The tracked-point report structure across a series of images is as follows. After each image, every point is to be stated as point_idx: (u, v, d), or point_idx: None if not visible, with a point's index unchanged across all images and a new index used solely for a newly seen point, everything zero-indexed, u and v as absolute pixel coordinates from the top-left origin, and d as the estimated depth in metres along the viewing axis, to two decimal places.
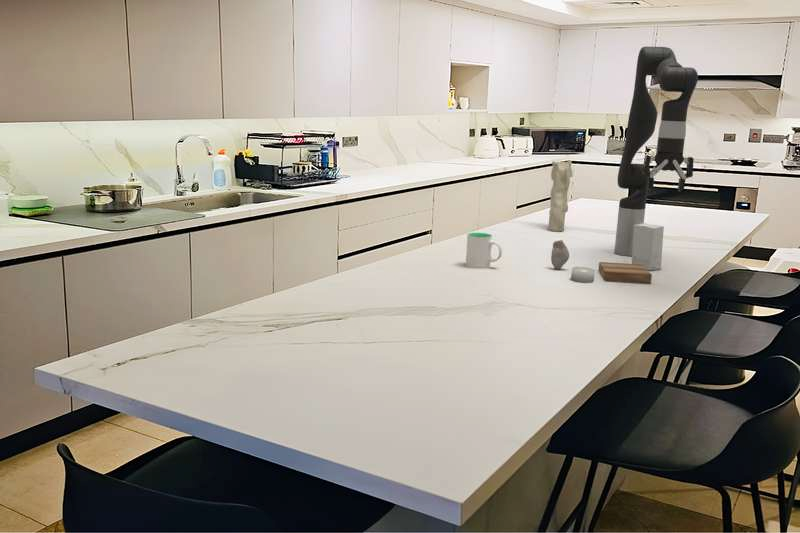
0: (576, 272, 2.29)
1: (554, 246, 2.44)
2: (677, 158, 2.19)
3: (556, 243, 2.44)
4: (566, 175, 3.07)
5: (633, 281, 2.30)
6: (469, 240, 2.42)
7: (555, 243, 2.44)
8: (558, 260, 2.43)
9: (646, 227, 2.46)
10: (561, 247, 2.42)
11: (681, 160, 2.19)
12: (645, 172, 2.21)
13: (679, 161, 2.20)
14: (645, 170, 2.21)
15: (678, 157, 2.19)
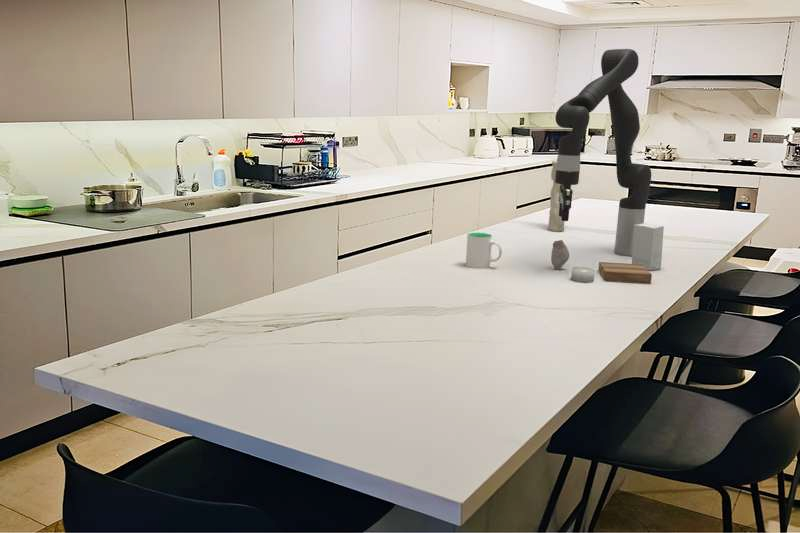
0: (576, 272, 2.29)
1: (554, 246, 2.44)
2: None
3: (556, 243, 2.44)
4: None
5: (633, 281, 2.30)
6: (469, 240, 2.42)
7: (555, 243, 2.44)
8: (558, 260, 2.43)
9: (646, 227, 2.46)
10: (561, 247, 2.42)
11: None
12: None
13: None
14: None
15: None
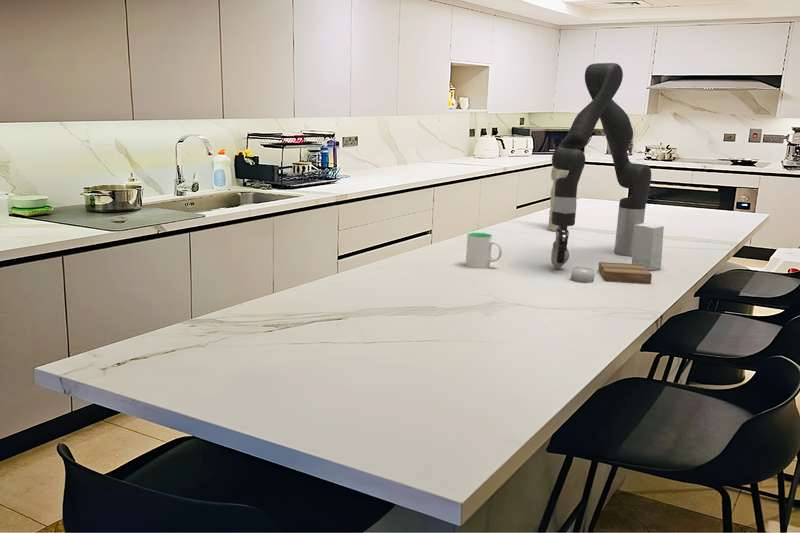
0: (576, 272, 2.29)
1: (554, 246, 2.44)
2: None
3: (556, 243, 2.43)
4: (566, 175, 3.07)
5: (633, 281, 2.30)
6: (469, 240, 2.42)
7: (555, 243, 2.44)
8: None
9: (646, 227, 2.46)
10: None
11: None
12: None
13: None
14: (566, 247, 2.38)
15: None
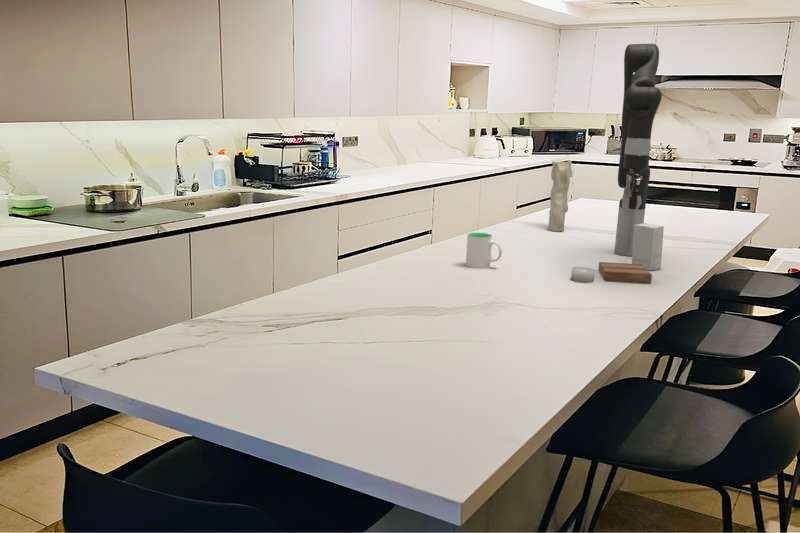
0: (576, 272, 2.29)
1: (625, 192, 2.32)
2: None
3: (628, 188, 2.31)
4: (566, 175, 3.07)
5: (633, 281, 2.30)
6: (469, 240, 2.42)
7: (626, 188, 2.31)
8: None
9: (646, 227, 2.46)
10: None
11: None
12: (639, 193, 2.26)
13: None
14: None
15: None
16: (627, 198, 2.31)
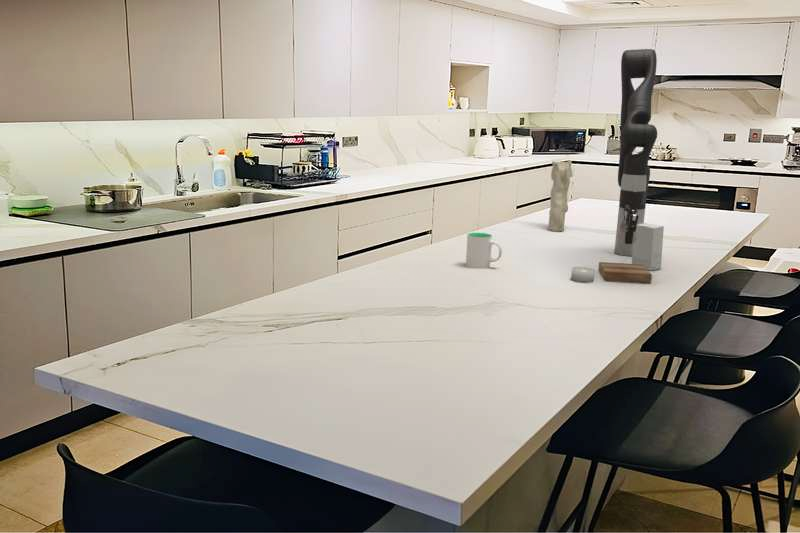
0: (576, 272, 2.29)
1: (621, 226, 2.34)
2: None
3: (624, 223, 2.34)
4: (566, 175, 3.07)
5: (633, 281, 2.30)
6: (469, 240, 2.42)
7: (623, 223, 2.34)
8: None
9: (646, 227, 2.46)
10: None
11: None
12: (635, 228, 2.29)
13: None
14: None
15: None
16: (623, 233, 2.33)
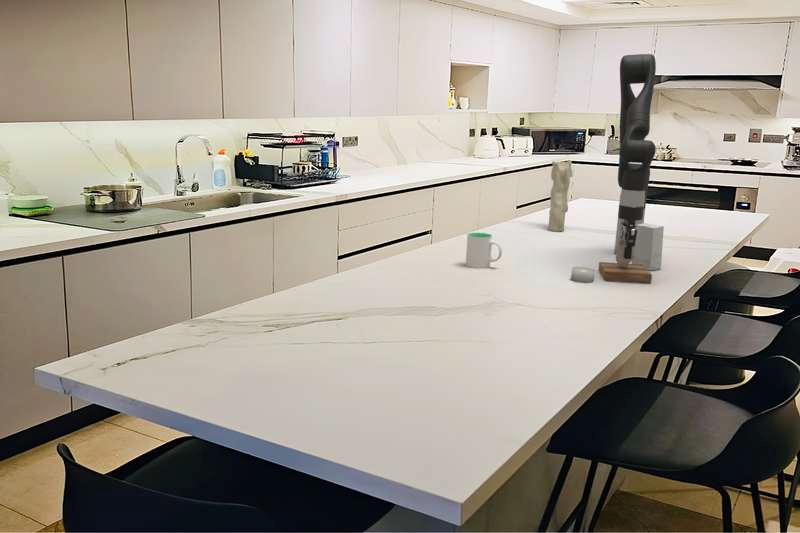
0: (576, 272, 2.29)
1: (620, 244, 2.36)
2: None
3: (622, 241, 2.35)
4: (566, 175, 3.07)
5: (633, 281, 2.30)
6: (469, 240, 2.42)
7: (621, 241, 2.36)
8: (624, 258, 2.35)
9: (646, 227, 2.46)
10: None
11: None
12: (634, 243, 2.30)
13: None
14: None
15: None
16: (622, 250, 2.35)
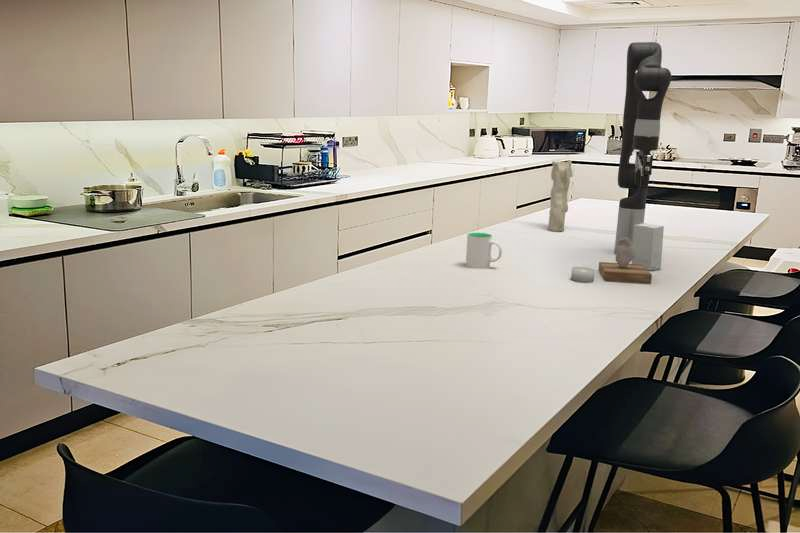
0: (576, 272, 2.29)
1: (619, 244, 2.36)
2: None
3: (621, 241, 2.36)
4: (566, 175, 3.07)
5: (633, 281, 2.30)
6: (469, 240, 2.42)
7: (620, 241, 2.36)
8: (624, 258, 2.35)
9: (646, 227, 2.46)
10: (628, 244, 2.34)
11: None
12: (651, 172, 2.24)
13: None
14: None
15: None
16: (621, 250, 2.35)
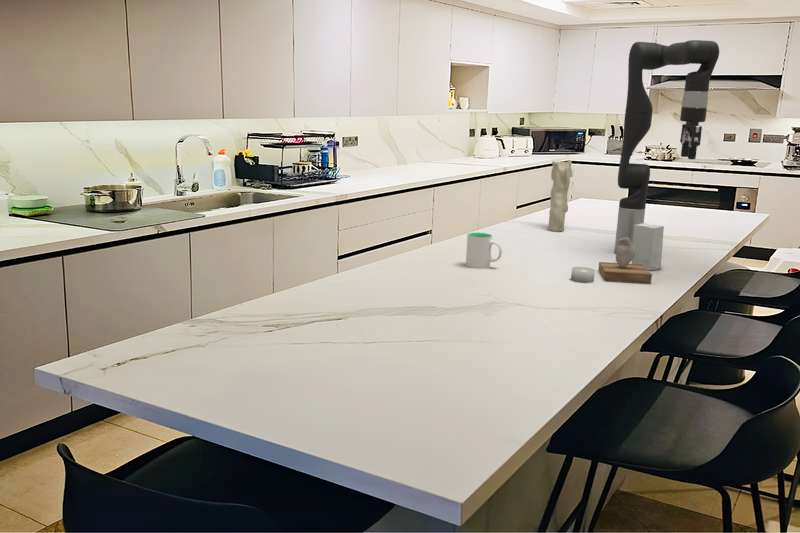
0: (576, 272, 2.29)
1: (619, 244, 2.36)
2: None
3: (621, 241, 2.36)
4: (566, 175, 3.07)
5: (633, 281, 2.30)
6: (469, 240, 2.42)
7: (620, 241, 2.36)
8: (624, 258, 2.35)
9: (646, 227, 2.46)
10: (628, 244, 2.34)
11: None
12: (699, 142, 2.28)
13: None
14: None
15: None
16: (621, 250, 2.35)
